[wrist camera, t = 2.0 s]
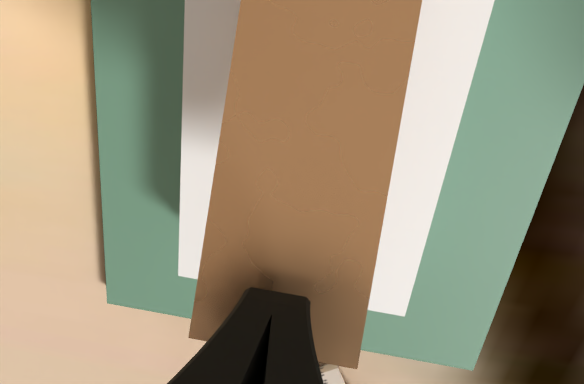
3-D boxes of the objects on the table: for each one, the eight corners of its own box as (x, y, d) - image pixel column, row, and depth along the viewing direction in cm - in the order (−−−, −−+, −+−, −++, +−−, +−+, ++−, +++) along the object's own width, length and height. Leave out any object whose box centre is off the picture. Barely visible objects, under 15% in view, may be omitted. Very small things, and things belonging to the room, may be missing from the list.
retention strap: (445, -149, 13) (451, -165, 12) (356, 359, 13) (356, 369, 13) (272, -172, 13) (270, -188, 12) (194, 330, 14) (188, 337, 13)
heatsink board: (809, -545, 12) (1056, -796, 7) (470, 356, 24) (489, 454, 20) (73, -609, 13) (-79, -862, 8) (114, 291, 25) (62, 371, 21)
